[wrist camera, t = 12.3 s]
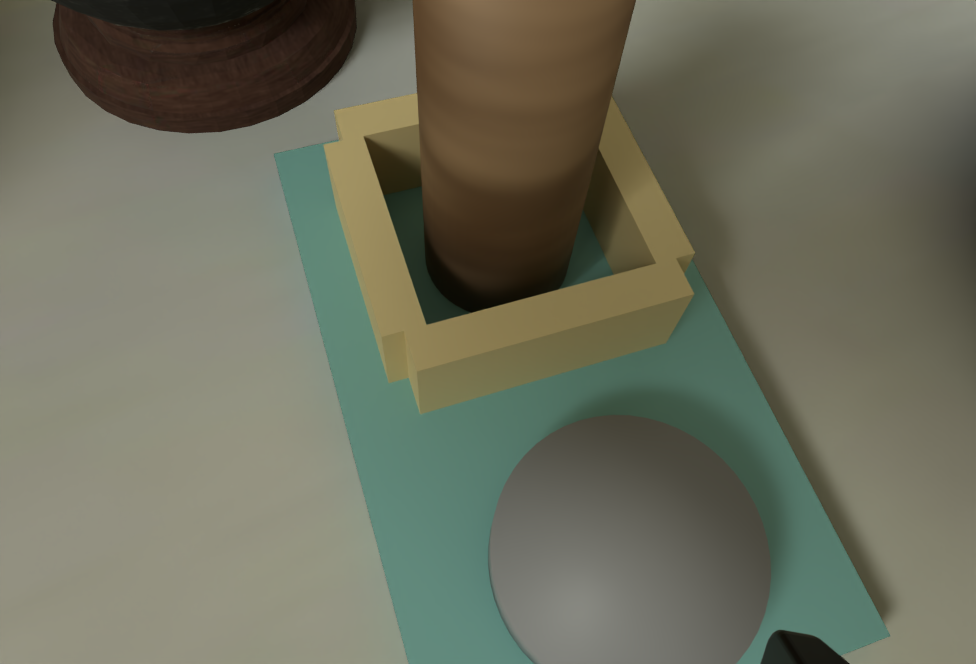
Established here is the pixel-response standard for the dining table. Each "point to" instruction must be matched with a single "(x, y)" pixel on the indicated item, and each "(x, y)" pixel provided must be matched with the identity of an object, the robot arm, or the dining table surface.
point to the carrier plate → (502, 430)
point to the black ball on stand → (202, 57)
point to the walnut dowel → (510, 137)
